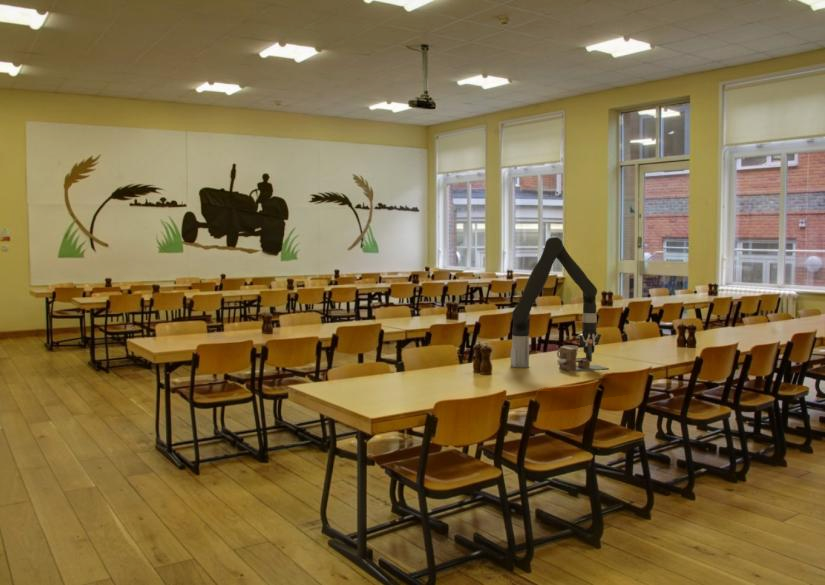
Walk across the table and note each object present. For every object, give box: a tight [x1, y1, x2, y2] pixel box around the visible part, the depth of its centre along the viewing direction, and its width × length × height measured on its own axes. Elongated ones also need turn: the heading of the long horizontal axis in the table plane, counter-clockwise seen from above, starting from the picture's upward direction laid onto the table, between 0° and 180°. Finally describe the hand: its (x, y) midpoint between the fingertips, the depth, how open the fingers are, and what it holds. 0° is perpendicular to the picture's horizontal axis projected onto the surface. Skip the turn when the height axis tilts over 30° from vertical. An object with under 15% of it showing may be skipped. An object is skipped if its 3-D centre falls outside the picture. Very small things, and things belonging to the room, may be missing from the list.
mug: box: [556, 344, 579, 359], centre depth 408 cm, size 8×13×10 cm, turn 53°
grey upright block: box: [559, 345, 577, 373], centre depth 388 cm, size 4×10×12 cm, turn 19°
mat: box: [558, 364, 610, 373], centre depth 391 cm, size 24×11×1 cm, turn 109°
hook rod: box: [557, 339, 593, 365], centre depth 389 cm, size 21×4×13 cm, turn 109°
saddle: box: [577, 360, 591, 369], centre depth 391 cm, size 4×5×5 cm
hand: (588, 352), depth 392 cm, fingers closed on hook rod, 3 cm apart
